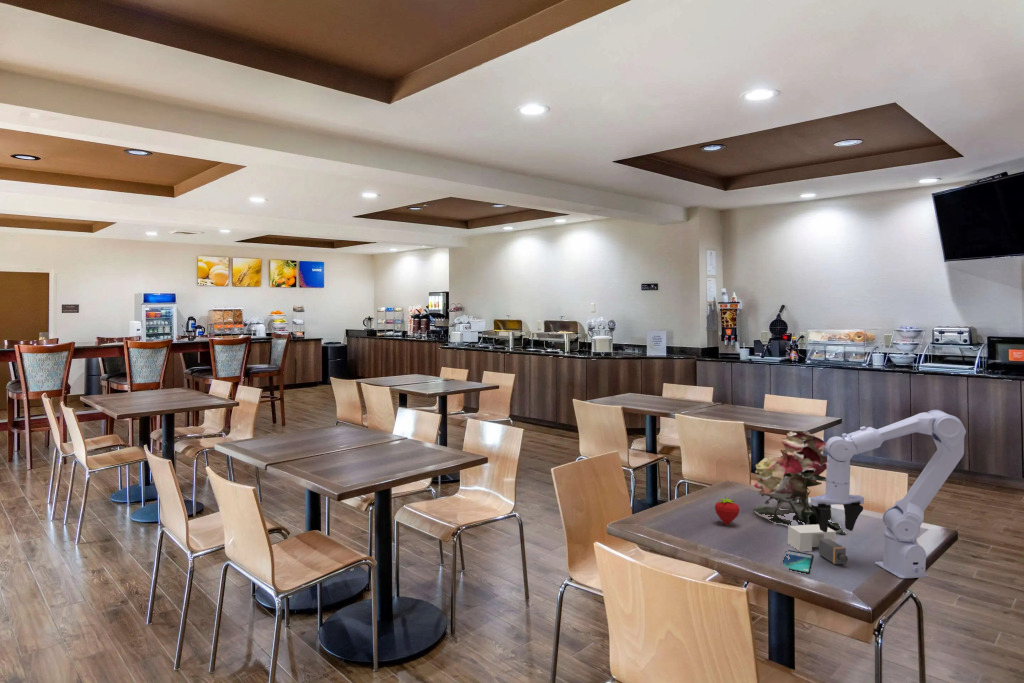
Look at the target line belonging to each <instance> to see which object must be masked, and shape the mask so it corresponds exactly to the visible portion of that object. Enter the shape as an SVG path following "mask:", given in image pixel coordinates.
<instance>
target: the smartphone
mask: <svg viewBox="0 0 1024 683" xmlns="http://www.w3.org/2000/svg"><path fill="white" fill-rule="evenodd" d="M787 550H788V551H785V553H786V552H789V553H790V554H788V553H786V556H788V555H789V557H790V559H789V560H788V558H787V557H786V556H785V557H784V556H783V558H784V560H783V559H782V561H783V566H786V568H789V570H792V571H797V572H801V573H806V574H809V575H810V574H811V570H810V569H812V566H811V565H812V564H813V561H814V554H812V553H808V552H799V551H798V550H792V549H787Z"/></svg>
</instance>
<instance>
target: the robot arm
mask: <svg viewBox="0 0 1024 683" xmlns="http://www.w3.org/2000/svg"><path fill="white" fill-rule="evenodd" d="M914 433H918V434H923V435H928V436H929V435H930V436H931V437H932V440H933V441H934V444H935V446H936V451H935V452H934V454H933V455H932V457H931V458H930V459H929V460H928V462H927V464H926V465H925V467H923V470H922V471H921V473H920V474H919V475H918V477H917V478H916V479H915V481H914V483H913V484H912V485H911V487H910V488H909V490H908V491H907V493H906V494H905V496H904V497H903V498H902V499H899V500H897V501H896V502H895V503H894V504H893V506H891V507H889V508H887V509H886V510H884V512H883V514H882V521H883V523H884V525H885V526H886V529H885V530H884V535H883V536H884V539H883V541H884V542H883V561H875V562H874V563H875V564H876V565H877V566H879V567H880V568H882V569H884V570H885V571H887V572H889V573H891V574H892V575H894V576H896V577H898V578H899V579H915V578H917V579H918V578H928V577H929V575H928V574H926V564H927V562H926V561H927V552H926V550H925V548H923V546H922V545H920V544H919V542H918V540H917V538H918V537H919V535H920V533H921V526H922V525H923V523H924V518H925V511H926V509H927V507H928V506H929V505H930V504H931V502H932V500H933V499H934V497H935V496H936V495H937V493H938V492H939V490H941V488H942V486H943V485H944V484H945V482H946V481H947V479H948V478H949V476H950V475H951V474H952V472H954V469H955V468H956V466H957V465H958V464H959V462H960V460H961V459H962V458H963V456H964V454H965V436H966V435H967V434H966V433H967V430H966V428H965V426H964V424H963V422H962V420H961V419H960V418H958V417H957V416H956V415H955V416H954V415H951V414H948V413H946V412H944V411H942V410H940V409H931V410H929V411H926V412H919V413H917V414H915V415H913V416H910V417H907V418H904V419H902V420H899V421H896V422H893V423H891V424H888V425H886V426H882V427H880V428H878V429H877V428H874V427H872V426H868V427H866V426H865V425H864V426H861V427H859V430H856V431H853V432H850V433H846V432H845V433H842V434H841V436H832V437H830V438H828V440H827V441H825V442H826V445H825V448H824V451H825V452H827V455H826V457H827V468H826V470H825V471H826V473H825V477H826V482H825V493H824V494H822V495H817V496H811V497H810V503H809V505H810V506H812V508H813V509H814V511H815V514H816V516H817V519H818V521H817V522H818V523H817V524H819V527H820V530H821V531H823V532H827V529H828V527H829V524H828V518H829V514H830V512H831V513H832V509H831V510H830V509H828V508H827V506H826V505H831V506H833V505H843V510H844V527H845V530H848V531H850V532H853V531H854V527H855V524H856V522H857V520H858V518H859V516H860V515H861V513H862V512H863V511H864V506H863V505H865V497H864V496H862V495H860V494H856V495H854V494H850V493H851V492H850V488H851V487H850V485H851V484H850V483H851V460H852V457H854V455H855V456H856V455H859V454H862V453H866V452H868V451H873V450H875V449H878V448H881V446H882V444H883V442H884V441H888V440H891V439H896V438H899V437H903V436H907V435H911V434H914Z"/></svg>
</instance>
